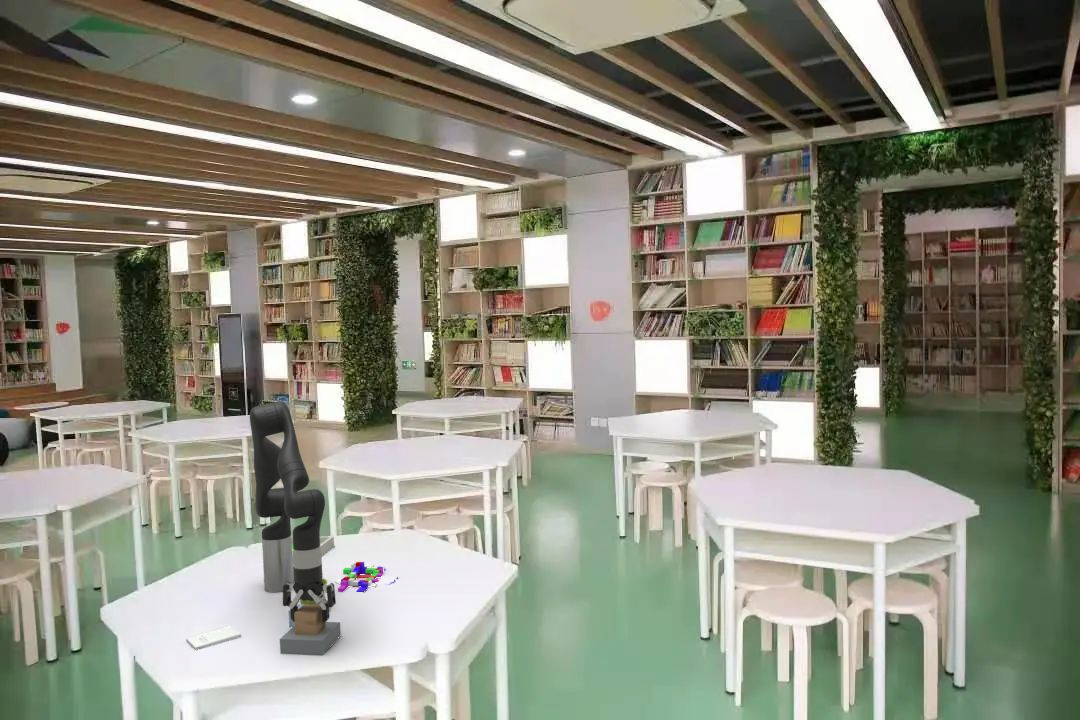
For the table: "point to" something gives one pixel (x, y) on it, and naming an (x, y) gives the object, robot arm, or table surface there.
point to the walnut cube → (308, 620)
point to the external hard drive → (213, 637)
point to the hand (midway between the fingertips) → (310, 621)
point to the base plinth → (310, 640)
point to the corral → (323, 544)
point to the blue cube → (290, 616)
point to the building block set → (359, 576)
